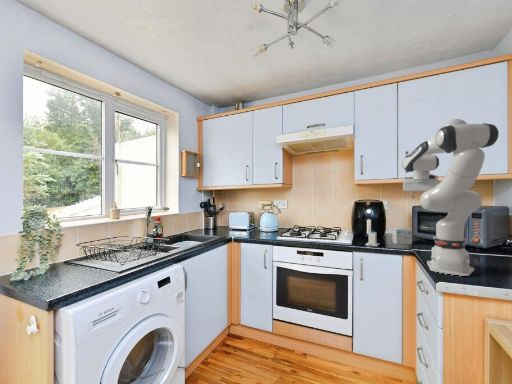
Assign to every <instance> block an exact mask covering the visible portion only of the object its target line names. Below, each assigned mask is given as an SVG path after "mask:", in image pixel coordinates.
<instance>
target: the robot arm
mask: <svg viewBox="0 0 512 384" xmlns="http://www.w3.org/2000/svg"><path fill="white" fill-rule="evenodd" d="M499 134H500V133H499V130H498V127H497V125H495V124H491V123H467V122H466V121H465V120H463V119H461V118H460V119H459V118H456V119H455V118H453V119H451V120H449V121H447V122H445V123H444V125H442V126H441V128H439V130H438V131H437V132H436V133H435V134H434V135H433V136H432V137H430V138H429V139H427V140H425V141H424V142H422V143H420V144H419V145H418V146H417V147H416V148H415V149H414V150H413V151H412V152H411V153H410V154H407V155H406V156H405V157H404V158H403V159H402V164H401V165H402V168H403V170H404V171H406V172H408V173H410V172H411V173H412V176H411V177H407V176H406V177H403V178H402V184H403V185H402V191H403V192H408V194H409V195H410V199H414V198H415V196H414V195H413V194H412V193H413V192H423V193H422V194H421V195H420V197H419V203H420V206H421V208H422V209H424V210H426V211H429V212H431V211H432V212H435V213H437V212H441V213H442V212H443V213H444V212H446V213H447V212H448V213H447V215H446V216H445V217H444V218H442V219H440V220H438V221H437V222H436V223H435V237H434V246H433V247H431V256H430V259H431V260H427V262H426V264H427V266H428V267H429V270H430V271H431V272H433V271H434V273H437V272H439V273H438V274H442V273H444V274H443V275H447V274H451V275H450V276H453V275H459V276H458V277H461V276H468V277H470V275H471V274H472V273H473V272H474V271H475V268H474V267H473V266H470V265H471V260H470V257H471V256H470V254H469V251H468V250H466V249H465V248H466V242H465V241H466V240H465V239H464V238H465V237H464V234H465V225H466V222H467V220H468V218H469V217H470V216H471V215H472V214H473V213H474V212H476V211H477V210H479V209H480V207H481V206H482V205H483V204H482V203H483V199H482V196H481V195H480V193H478V192H477V191H473V190H470V189H471V188H472V187H473V186H474V184H475V182H476V181H477V179H478V177H479V174H480V173H481V171H482V167H483V165H484V161H485V156H486V154H485V152H484V151H483V148H488V147H491V146H494V144H496V142H497V141H498V138H499ZM443 153H445V154H451V153H452V154H453V157H452V160H451V162H450V164H449V166H448V168H447V171H446V173H445V175H444V177H443V179H442V180H441V181H440V180H439V176H438V175H436V174H432V173H430V171H435V170H437V168H438V167H439V166H440V159H439V157H438V155H436V154H443Z"/></svg>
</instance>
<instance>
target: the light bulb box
mask: <svg viewBox="0 0 512 384" xmlns="http://www.w3.org/2000/svg"><path fill="white" fill-rule="evenodd" d="M412 234H413V231H412V228H408V227H392V243H394V244H396V245H412V244H413V235H412Z"/></svg>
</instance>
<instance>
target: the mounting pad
mask: <svg viewBox="0 0 512 384" xmlns="http://www.w3.org/2000/svg"><path fill="white" fill-rule="evenodd" d="M379 245H380V243H379V242H378V243H377V242H376V244H375V245H372V244H369V241H368V242H367V243H365V246H368V247H369V246H370V247H375V246H376V247H378V246H379Z"/></svg>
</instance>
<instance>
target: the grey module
mask: <svg viewBox="0 0 512 384" xmlns="http://www.w3.org/2000/svg"><path fill="white" fill-rule="evenodd" d="M368 242H369V244H372V245H375V244H376V243H377V232H376V231H369V232H368Z"/></svg>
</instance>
